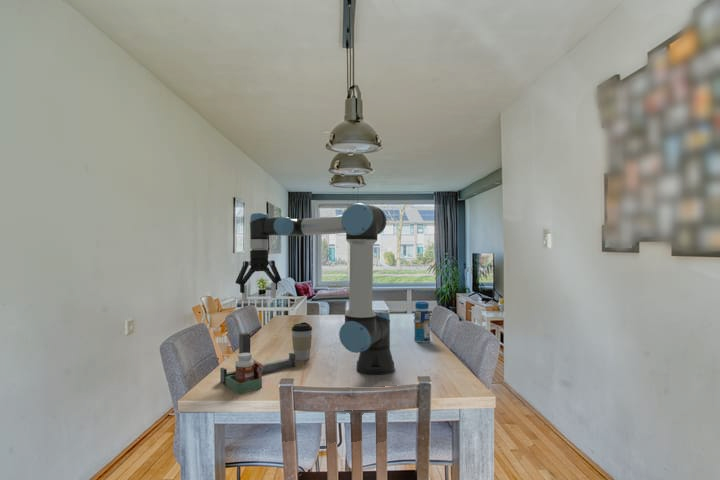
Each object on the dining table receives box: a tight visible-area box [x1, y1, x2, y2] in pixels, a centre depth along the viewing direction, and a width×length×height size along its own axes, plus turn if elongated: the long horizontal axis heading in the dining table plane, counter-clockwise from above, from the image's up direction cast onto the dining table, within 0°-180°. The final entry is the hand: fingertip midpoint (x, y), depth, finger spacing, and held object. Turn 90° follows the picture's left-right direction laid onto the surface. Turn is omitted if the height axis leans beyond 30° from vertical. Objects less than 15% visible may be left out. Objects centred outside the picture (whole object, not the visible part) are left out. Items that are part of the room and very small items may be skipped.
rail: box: [219, 352, 296, 385], centre depth 150 cm, size 3×30×5 cm, turn 132°
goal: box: [224, 374, 263, 395], centre depth 136 cm, size 11×8×3 cm
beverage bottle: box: [413, 301, 431, 344], centre depth 201 cm, size 8×8×20 cm
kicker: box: [235, 332, 263, 380], centre depth 142 cm, size 14×6×16 cm, turn 42°
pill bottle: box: [235, 352, 254, 383], centre depth 137 cm, size 6×6×11 cm
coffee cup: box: [291, 322, 313, 361], centre depth 171 cm, size 9×9×15 cm
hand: (259, 299), depth 165 cm, fingers open, 13 cm apart
